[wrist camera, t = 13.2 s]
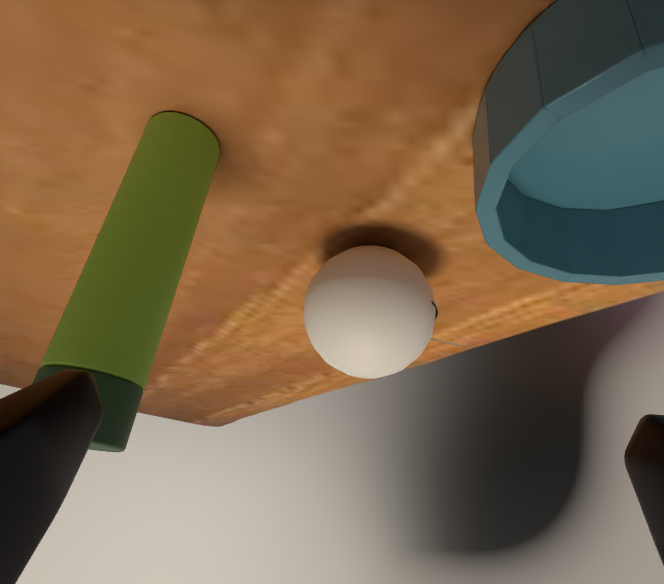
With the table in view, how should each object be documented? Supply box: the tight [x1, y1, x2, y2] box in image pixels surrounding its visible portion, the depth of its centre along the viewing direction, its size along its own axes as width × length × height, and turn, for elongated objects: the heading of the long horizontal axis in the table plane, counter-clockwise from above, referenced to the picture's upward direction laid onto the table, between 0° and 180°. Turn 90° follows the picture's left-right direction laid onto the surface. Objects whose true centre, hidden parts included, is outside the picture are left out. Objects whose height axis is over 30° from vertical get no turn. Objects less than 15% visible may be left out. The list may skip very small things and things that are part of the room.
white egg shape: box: [304, 246, 459, 379], centre depth 25 cm, size 10×7×7 cm
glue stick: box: [32, 112, 220, 452], centre depth 17 cm, size 3×3×13 cm
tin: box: [473, 0, 664, 285], centre depth 15 cm, size 11×11×4 cm
